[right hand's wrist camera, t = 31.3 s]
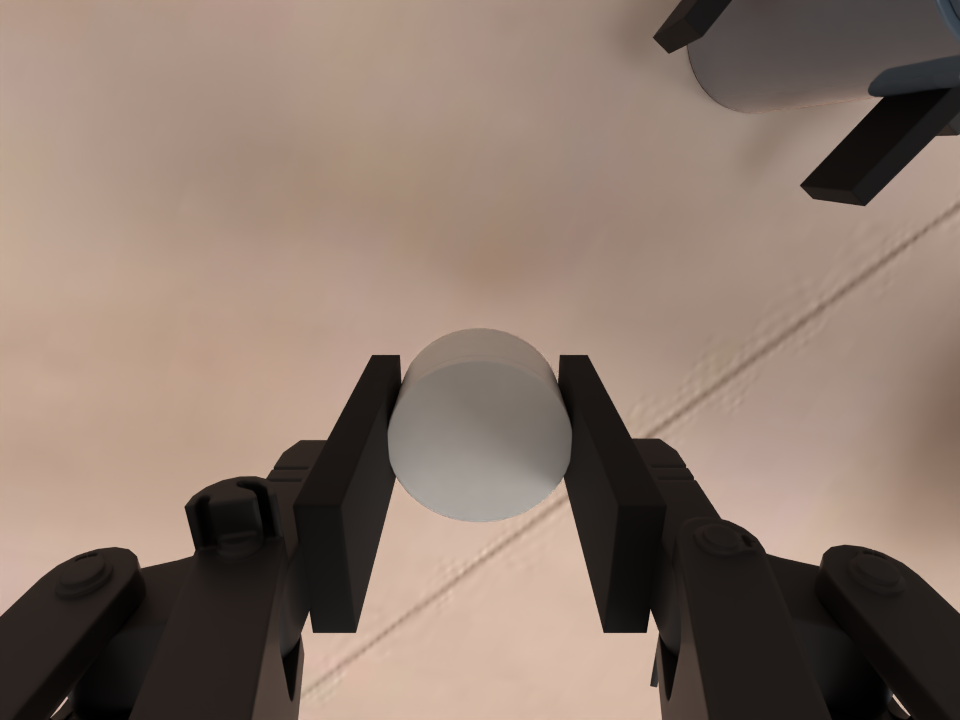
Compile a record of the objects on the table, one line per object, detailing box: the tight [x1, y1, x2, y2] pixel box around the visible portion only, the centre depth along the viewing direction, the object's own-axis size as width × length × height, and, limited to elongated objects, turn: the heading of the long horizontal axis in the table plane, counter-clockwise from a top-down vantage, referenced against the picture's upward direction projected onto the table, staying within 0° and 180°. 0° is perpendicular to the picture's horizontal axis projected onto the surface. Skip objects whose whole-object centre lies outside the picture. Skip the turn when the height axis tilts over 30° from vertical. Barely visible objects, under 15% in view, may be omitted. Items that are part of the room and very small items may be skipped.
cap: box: [387, 329, 572, 522], centre depth 14 cm, size 4×4×2 cm
